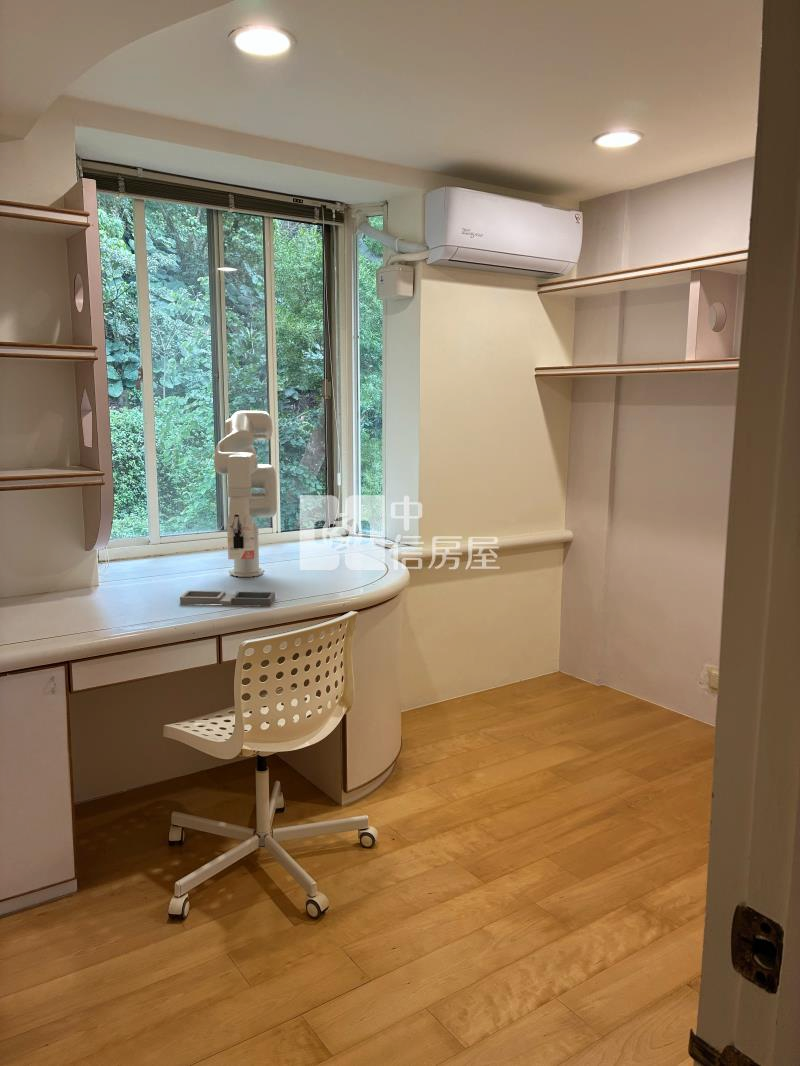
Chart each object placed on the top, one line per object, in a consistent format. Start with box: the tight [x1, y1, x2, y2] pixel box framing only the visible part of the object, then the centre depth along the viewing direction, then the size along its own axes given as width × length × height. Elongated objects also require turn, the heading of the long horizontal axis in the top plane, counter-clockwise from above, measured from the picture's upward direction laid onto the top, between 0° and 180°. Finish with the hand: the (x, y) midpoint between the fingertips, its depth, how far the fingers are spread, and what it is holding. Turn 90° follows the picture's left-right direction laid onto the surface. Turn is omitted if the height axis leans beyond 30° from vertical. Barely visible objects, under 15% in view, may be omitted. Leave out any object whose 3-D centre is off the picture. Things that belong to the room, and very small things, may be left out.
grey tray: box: [219, 591, 276, 607], centre depth 267 cm, size 9×17×2 cm, turn 89°
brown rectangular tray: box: [179, 590, 226, 605], centre depth 267 cm, size 9×13×2 cm
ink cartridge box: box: [226, 515, 254, 560], centre depth 263 cm, size 9×5×15 cm, turn 100°
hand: (240, 545), depth 264 cm, fingers closed on ink cartridge box, 5 cm apart
